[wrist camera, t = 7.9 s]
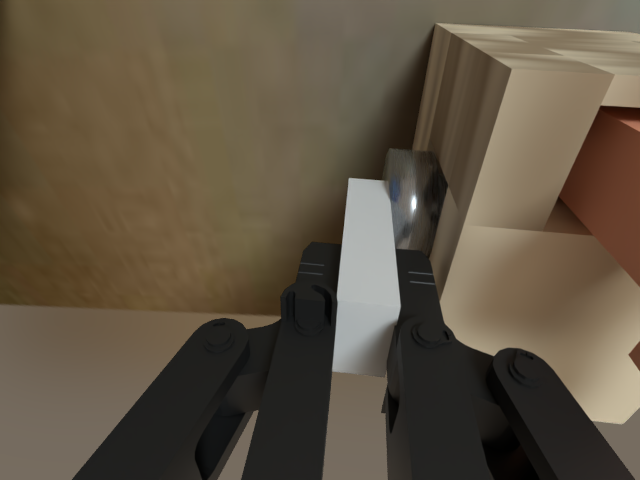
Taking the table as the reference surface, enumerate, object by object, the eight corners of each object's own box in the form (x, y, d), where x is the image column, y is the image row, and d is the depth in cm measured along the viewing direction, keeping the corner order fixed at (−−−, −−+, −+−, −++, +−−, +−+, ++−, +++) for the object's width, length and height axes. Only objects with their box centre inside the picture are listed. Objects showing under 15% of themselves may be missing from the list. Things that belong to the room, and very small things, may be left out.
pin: (375, 224, 18) (377, 287, 14) (388, 131, 15) (395, 179, 11) (715, 253, 17) (814, 330, 13) (793, 158, 14) (946, 222, 10)
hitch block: (394, 244, 23) (409, 398, 14) (435, 23, 16) (512, 68, 7) (526, 255, 22) (622, 424, 14) (627, 31, 15) (949, 92, 7)
